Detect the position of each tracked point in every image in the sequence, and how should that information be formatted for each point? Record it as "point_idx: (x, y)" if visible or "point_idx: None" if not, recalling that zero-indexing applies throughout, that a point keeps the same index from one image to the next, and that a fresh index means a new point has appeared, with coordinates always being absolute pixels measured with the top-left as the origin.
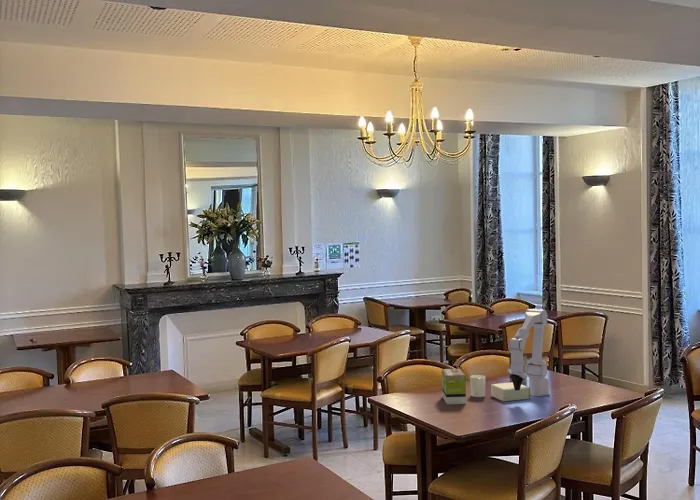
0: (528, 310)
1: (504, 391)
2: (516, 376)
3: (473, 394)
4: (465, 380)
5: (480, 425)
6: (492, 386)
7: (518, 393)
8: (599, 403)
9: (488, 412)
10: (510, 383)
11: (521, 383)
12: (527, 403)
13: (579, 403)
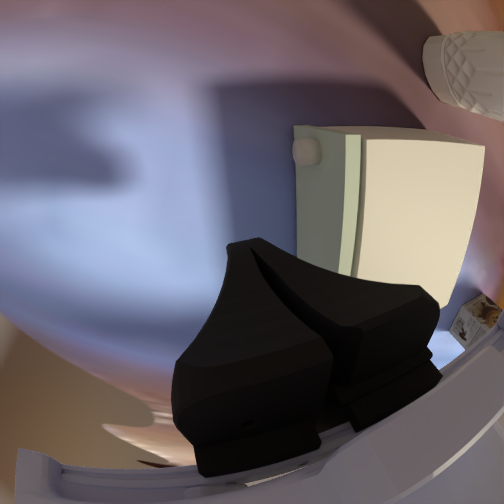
0: None
1: (337, 139)
2: (269, 427)
3: (443, 35)
4: None
5: None
6: (468, 142)
7: None
8: (172, 453)
9: None
10: (447, 275)
11: (455, 318)
12: (201, 274)
13: (174, 431)
